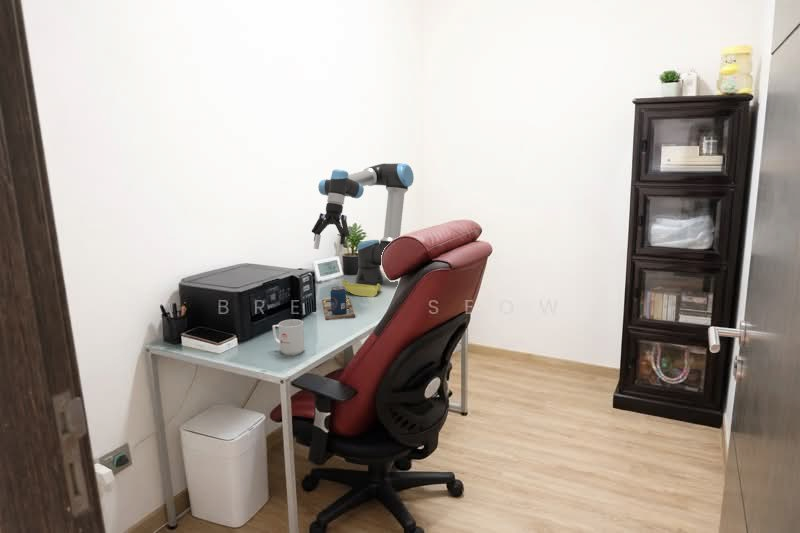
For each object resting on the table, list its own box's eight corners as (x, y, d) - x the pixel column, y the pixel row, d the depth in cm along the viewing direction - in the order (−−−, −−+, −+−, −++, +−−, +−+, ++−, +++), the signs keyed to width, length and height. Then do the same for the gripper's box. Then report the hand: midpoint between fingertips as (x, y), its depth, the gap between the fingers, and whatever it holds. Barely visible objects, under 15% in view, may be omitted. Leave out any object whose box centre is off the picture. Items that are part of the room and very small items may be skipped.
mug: (309, 348, 206) (307, 320, 204) (297, 357, 198) (295, 328, 196) (281, 345, 210) (279, 317, 208) (268, 353, 202) (266, 325, 200)
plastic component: (382, 286, 284) (378, 282, 274) (380, 300, 282) (375, 297, 273) (345, 282, 288) (340, 278, 278) (343, 296, 286) (337, 292, 276)
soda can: (328, 313, 248) (327, 288, 245) (341, 310, 252) (340, 285, 250) (337, 317, 243) (335, 290, 240) (350, 313, 247) (348, 288, 244)
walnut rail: (322, 301, 267) (322, 299, 267) (348, 299, 269) (348, 297, 269) (325, 320, 239) (325, 317, 239) (355, 317, 242) (355, 315, 241)
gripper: (308, 200, 253) (301, 246, 252) (351, 203, 239) (344, 251, 238) (319, 204, 259) (312, 249, 258) (361, 207, 246) (354, 253, 245)
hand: (327, 250), depth 248 cm, fingers open, 13 cm apart
